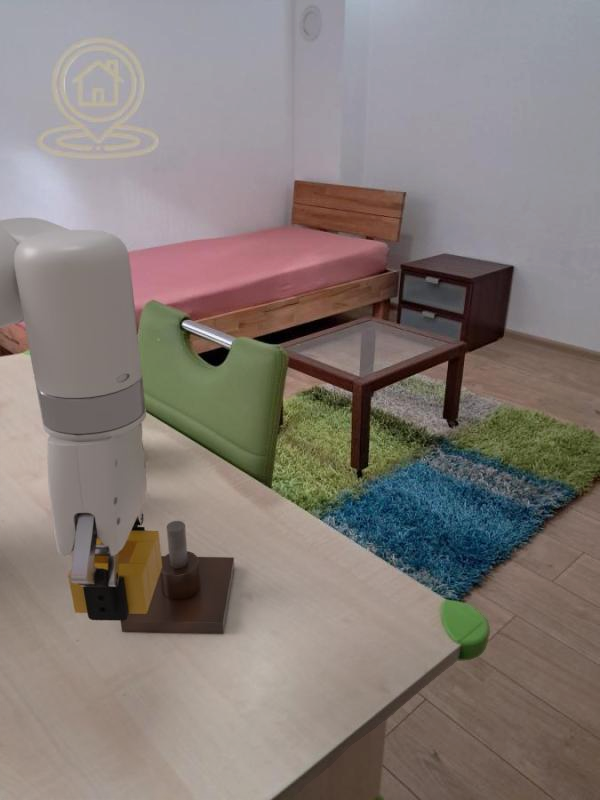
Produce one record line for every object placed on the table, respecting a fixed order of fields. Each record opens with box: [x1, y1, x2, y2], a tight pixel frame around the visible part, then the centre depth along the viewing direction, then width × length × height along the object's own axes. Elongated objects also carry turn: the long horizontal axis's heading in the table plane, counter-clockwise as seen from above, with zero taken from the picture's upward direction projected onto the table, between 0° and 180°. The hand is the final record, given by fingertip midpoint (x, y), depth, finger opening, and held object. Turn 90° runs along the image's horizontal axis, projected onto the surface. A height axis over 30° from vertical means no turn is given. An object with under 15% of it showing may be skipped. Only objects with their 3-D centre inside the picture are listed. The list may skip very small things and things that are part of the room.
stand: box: [120, 520, 235, 634], centre depth 71 cm, size 11×11×10 cm
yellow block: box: [67, 530, 162, 614], centre depth 54 cm, size 6×6×4 cm
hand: (120, 588), depth 55 cm, fingers closed on yellow block, 6 cm apart
